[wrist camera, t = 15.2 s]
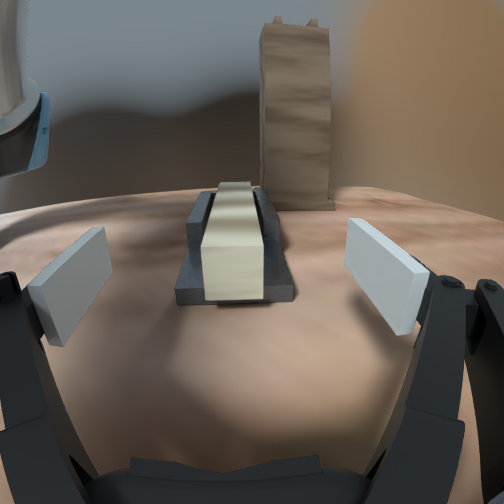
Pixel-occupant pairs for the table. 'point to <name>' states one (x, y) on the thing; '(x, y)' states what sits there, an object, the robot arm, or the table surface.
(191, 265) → the channel rail
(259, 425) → the table surface
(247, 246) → the ash bar
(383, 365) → the table surface
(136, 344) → the table surface
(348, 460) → the table surface
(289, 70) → the walnut stand
